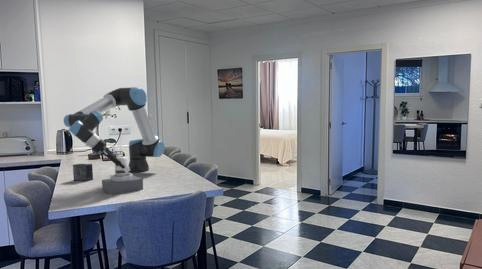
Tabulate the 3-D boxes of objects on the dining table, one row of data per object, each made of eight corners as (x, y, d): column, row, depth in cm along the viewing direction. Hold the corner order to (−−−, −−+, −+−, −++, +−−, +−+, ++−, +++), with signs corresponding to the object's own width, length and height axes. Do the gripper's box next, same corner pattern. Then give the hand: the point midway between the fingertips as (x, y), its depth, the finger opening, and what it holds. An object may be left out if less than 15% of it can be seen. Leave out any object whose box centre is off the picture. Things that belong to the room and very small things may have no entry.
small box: (93, 179, 227) (92, 163, 226) (86, 181, 220) (85, 165, 220) (80, 178, 230) (79, 163, 229) (73, 180, 223) (72, 164, 222)
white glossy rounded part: (125, 174, 201) (124, 156, 200) (130, 176, 195) (129, 157, 194) (113, 176, 196) (112, 157, 195) (118, 178, 191) (117, 158, 190)
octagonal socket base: (132, 185, 207) (132, 171, 207) (143, 189, 197) (142, 174, 196) (102, 190, 196) (101, 175, 195) (111, 194, 185) (110, 179, 184)
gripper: (91, 146, 198) (123, 172, 205) (90, 150, 180) (124, 178, 187) (101, 137, 199) (131, 162, 207) (100, 140, 181) (134, 168, 188)
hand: (128, 170), depth 197 cm, fingers closed on white glossy rounded part, 7 cm apart
